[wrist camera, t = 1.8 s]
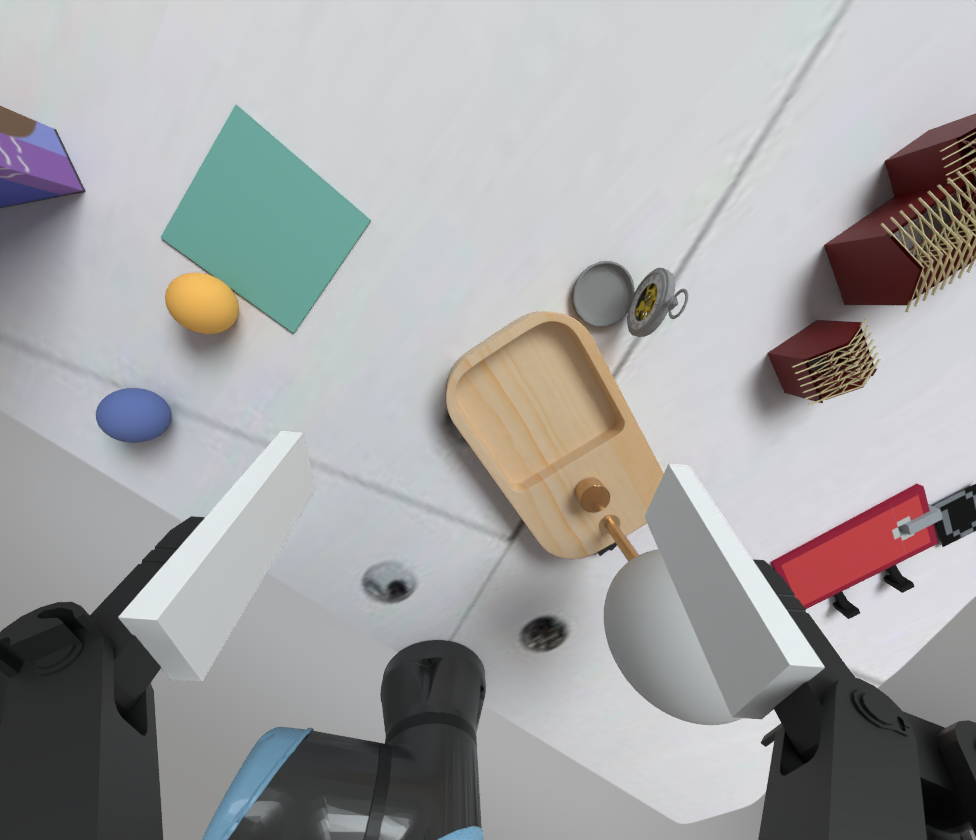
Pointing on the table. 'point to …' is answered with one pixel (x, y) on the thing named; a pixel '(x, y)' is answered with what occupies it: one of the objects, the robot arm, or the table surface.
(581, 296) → the pocket watch
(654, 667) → the lamp
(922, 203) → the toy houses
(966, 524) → the red board with handle
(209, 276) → the orange ball
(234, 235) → the green mark
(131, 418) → the blue ball
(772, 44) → the table surface
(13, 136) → the purple book
